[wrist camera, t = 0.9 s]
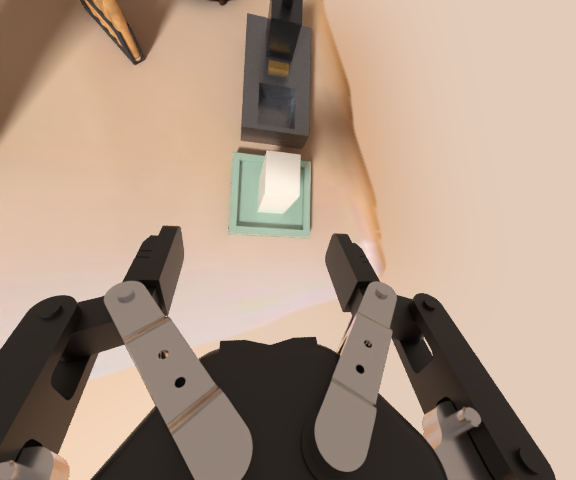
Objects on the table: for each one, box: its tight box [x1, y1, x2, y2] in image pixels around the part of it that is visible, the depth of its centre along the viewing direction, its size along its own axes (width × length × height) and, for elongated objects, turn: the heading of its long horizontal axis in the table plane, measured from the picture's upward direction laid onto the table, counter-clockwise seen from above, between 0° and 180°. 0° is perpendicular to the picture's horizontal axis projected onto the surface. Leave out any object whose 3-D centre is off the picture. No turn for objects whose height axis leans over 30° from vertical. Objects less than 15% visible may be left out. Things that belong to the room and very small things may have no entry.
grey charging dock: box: [241, 0, 311, 148], centre depth 34 cm, size 10×18×13 cm, turn 178°
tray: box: [229, 152, 311, 238], centre depth 38 cm, size 12×12×2 cm
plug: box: [257, 150, 301, 214], centre depth 33 cm, size 4×5×10 cm
